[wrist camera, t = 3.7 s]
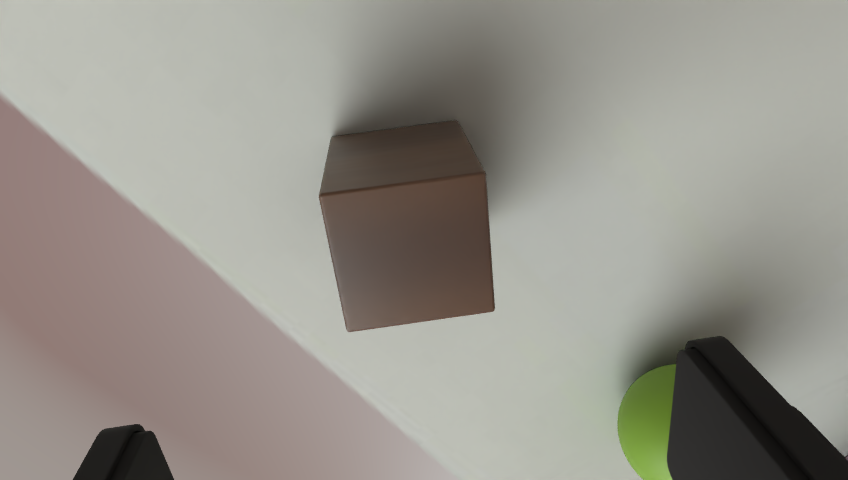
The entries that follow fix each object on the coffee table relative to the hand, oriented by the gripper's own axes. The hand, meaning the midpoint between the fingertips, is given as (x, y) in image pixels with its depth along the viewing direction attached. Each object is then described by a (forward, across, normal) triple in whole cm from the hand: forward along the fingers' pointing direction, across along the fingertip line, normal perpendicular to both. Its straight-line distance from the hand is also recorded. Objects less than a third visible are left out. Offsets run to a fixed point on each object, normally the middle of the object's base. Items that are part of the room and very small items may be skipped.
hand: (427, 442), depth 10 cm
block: (+12, 0, 0) cm, 12 cm away
